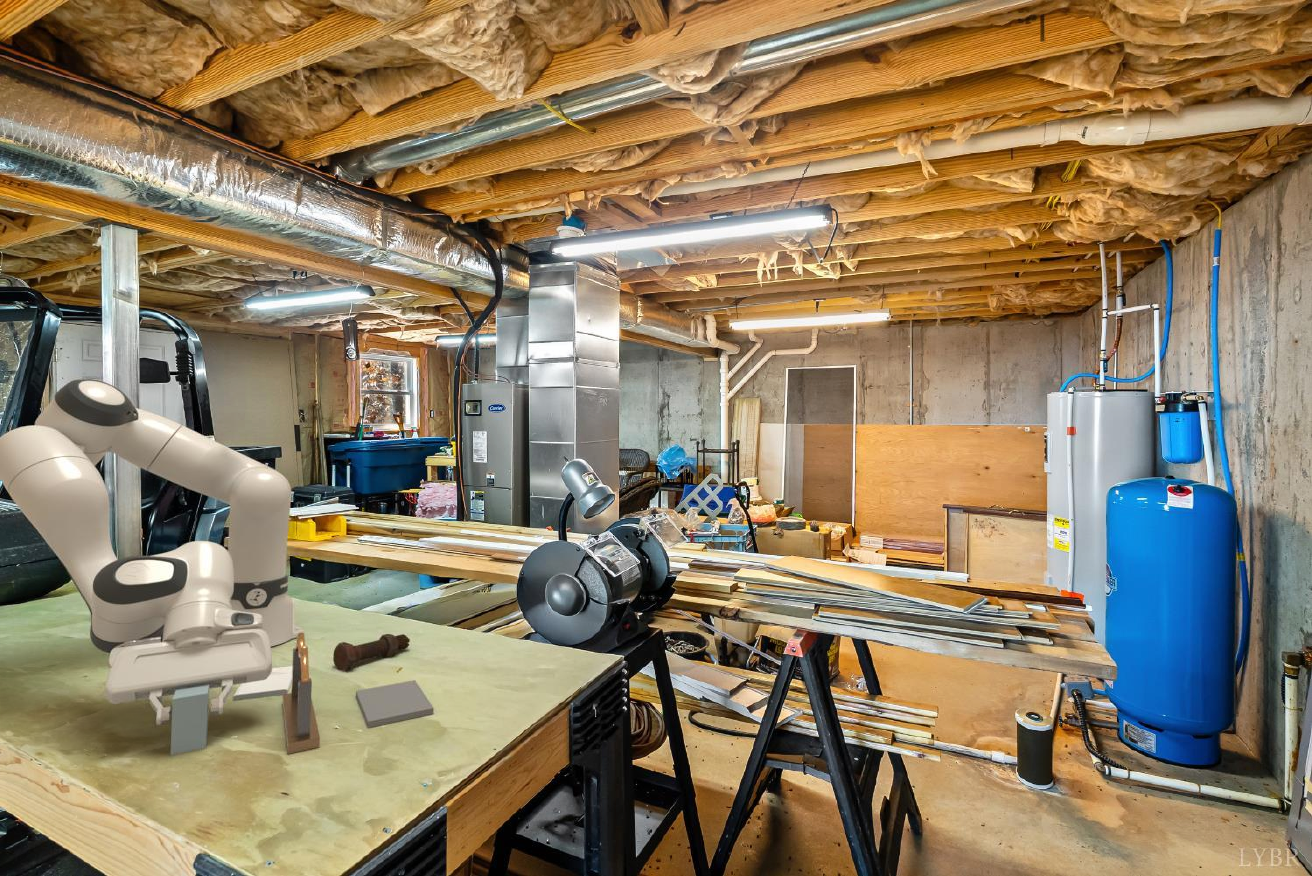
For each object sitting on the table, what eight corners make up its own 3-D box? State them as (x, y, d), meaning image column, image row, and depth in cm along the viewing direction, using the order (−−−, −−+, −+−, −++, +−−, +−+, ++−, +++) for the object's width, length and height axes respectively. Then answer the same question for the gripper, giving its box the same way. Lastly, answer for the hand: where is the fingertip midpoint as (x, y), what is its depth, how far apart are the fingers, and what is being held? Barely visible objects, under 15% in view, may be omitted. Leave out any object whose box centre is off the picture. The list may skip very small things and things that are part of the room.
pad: (355, 696, 107) (355, 690, 107) (414, 685, 113) (415, 679, 113) (368, 727, 96) (368, 721, 96) (433, 713, 101) (433, 707, 101)
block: (173, 743, 89) (175, 689, 90) (207, 736, 92) (209, 683, 92) (170, 755, 86) (172, 698, 86) (205, 748, 88) (207, 693, 88)
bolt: (407, 658, 132) (341, 677, 119) (395, 643, 134) (329, 660, 122) (417, 638, 131) (351, 654, 118) (405, 622, 133) (339, 637, 120)
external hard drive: (232, 704, 104) (247, 678, 116) (287, 697, 108) (296, 672, 119) (232, 695, 104) (247, 670, 116) (287, 688, 108) (296, 664, 119)
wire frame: (282, 703, 104) (285, 624, 104) (309, 698, 106) (311, 621, 106) (287, 754, 87) (291, 660, 87) (319, 747, 89) (322, 655, 90)
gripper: (109, 631, 89) (91, 724, 81) (273, 613, 100) (272, 693, 92) (114, 652, 93) (97, 743, 85) (271, 633, 104) (270, 711, 96)
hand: (190, 717), depth 88 cm, fingers open, 5 cm apart
